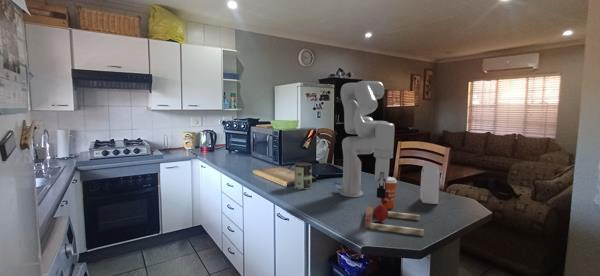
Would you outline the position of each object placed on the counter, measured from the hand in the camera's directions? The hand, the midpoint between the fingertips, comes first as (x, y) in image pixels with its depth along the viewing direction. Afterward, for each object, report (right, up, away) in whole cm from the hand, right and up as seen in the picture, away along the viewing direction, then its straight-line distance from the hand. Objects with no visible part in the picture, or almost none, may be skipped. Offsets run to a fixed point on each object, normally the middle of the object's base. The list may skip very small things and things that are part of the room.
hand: (381, 193), depth 118 cm
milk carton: (+32, -9, +27) cm, 43 cm away
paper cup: (+8, -10, +19) cm, 23 cm away
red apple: (0, -12, +1) cm, 12 cm away
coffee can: (-32, -6, +51) cm, 60 cm away
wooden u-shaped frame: (+5, -12, -1) cm, 13 cm away
